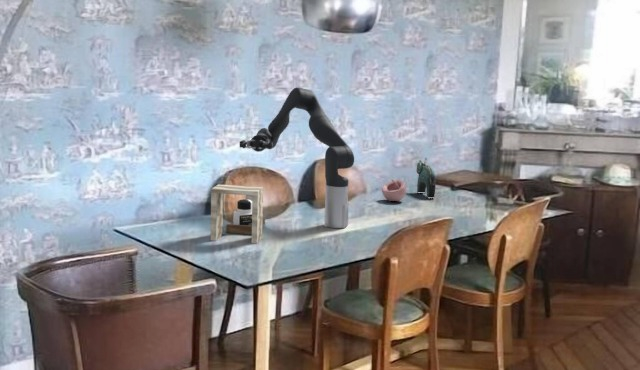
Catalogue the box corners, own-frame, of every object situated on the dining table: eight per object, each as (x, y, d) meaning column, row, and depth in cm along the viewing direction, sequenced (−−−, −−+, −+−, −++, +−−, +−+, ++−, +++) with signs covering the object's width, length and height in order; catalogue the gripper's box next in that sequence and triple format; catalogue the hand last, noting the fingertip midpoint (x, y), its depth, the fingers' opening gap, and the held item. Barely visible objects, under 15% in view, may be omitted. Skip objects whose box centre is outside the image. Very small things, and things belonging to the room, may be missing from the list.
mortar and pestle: (376, 200, 347) (377, 178, 345) (392, 198, 355) (393, 176, 353) (394, 205, 338) (395, 181, 336) (410, 202, 346) (411, 179, 344)
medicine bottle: (239, 232, 273) (239, 202, 271) (233, 228, 279) (233, 198, 277) (256, 231, 276) (256, 201, 274) (249, 227, 282) (250, 198, 280)
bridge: (217, 234, 270) (218, 184, 266) (262, 236, 268) (263, 186, 265) (210, 240, 260) (211, 189, 257) (256, 243, 258) (257, 191, 255)
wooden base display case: (237, 221, 290) (237, 186, 288) (265, 223, 289) (266, 187, 287) (226, 232, 272) (226, 194, 269) (256, 234, 271) (257, 196, 268)
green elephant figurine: (414, 192, 374) (416, 155, 370) (425, 192, 375) (427, 155, 372) (426, 199, 355) (428, 160, 351) (438, 199, 356) (440, 160, 352)
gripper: (245, 133, 317) (237, 137, 302) (275, 134, 316) (269, 138, 300) (244, 149, 319) (236, 154, 303) (275, 151, 317) (269, 155, 301)
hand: (253, 146), depth 301 cm, fingers open, 8 cm apart
